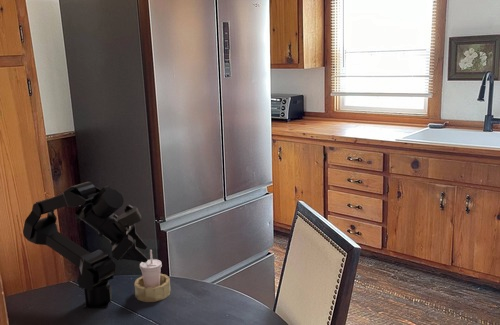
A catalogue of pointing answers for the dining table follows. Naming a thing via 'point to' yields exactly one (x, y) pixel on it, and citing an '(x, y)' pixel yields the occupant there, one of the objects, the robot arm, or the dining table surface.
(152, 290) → the collar
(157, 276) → the smoothie
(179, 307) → the dining table surface
